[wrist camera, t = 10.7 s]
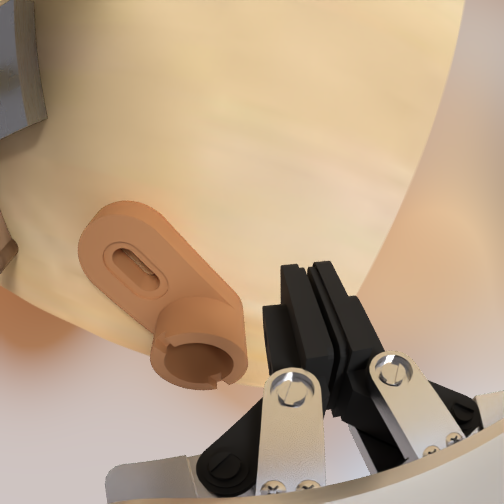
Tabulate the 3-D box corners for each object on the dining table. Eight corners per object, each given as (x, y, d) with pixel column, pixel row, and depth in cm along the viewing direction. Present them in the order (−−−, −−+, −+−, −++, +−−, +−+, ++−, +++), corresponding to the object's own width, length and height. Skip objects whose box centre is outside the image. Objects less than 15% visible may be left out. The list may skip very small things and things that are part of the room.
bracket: (258, 314, 31) (266, 368, 25) (197, 346, 33) (195, 398, 27) (132, 180, 22) (102, 219, 17) (73, 236, 24) (40, 283, 19)
